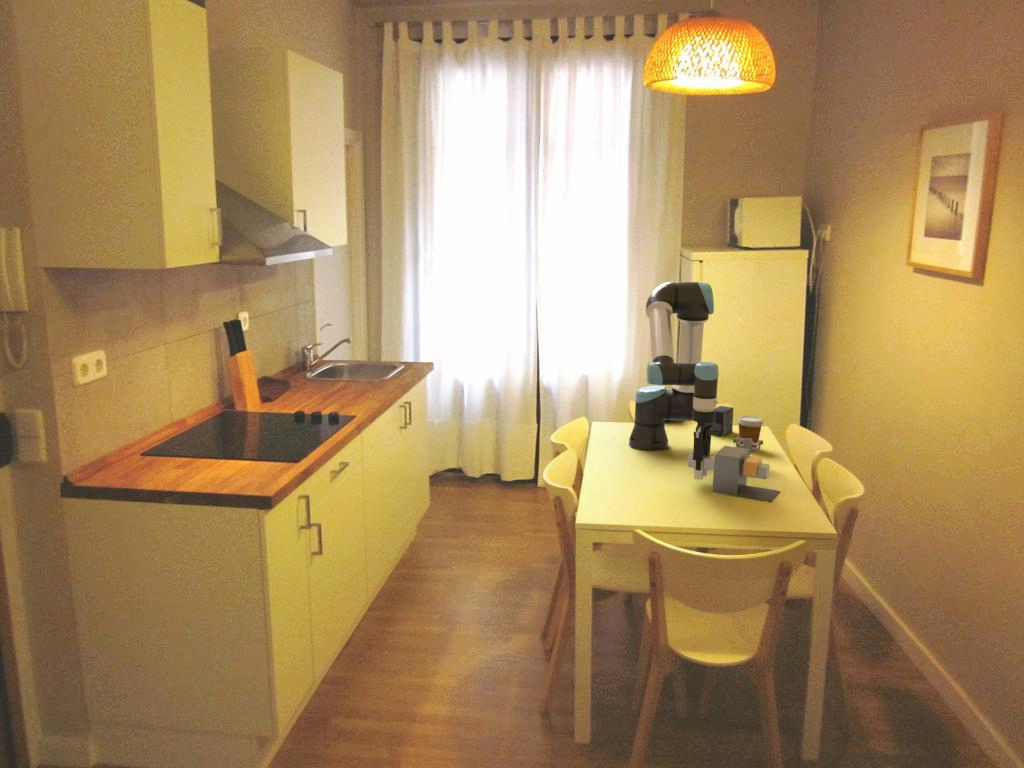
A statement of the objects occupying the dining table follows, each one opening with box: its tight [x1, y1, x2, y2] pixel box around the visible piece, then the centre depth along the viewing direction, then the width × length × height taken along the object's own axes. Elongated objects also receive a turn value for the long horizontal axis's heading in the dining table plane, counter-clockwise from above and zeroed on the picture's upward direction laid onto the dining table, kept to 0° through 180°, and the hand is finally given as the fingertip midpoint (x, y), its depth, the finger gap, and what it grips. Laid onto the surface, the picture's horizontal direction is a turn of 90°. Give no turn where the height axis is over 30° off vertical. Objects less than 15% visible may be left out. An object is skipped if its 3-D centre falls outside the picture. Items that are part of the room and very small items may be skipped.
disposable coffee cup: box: [737, 415, 764, 452], centre depth 328 cm, size 10×10×12 cm
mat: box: [737, 484, 781, 503], centre depth 276 cm, size 12×12×1 cm
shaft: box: [687, 452, 771, 480], centre depth 280 cm, size 26×4×4 cm, turn 61°
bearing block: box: [712, 445, 749, 498], centre depth 280 cm, size 8×12×13 cm, turn 151°
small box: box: [710, 405, 734, 437], centre depth 351 cm, size 11×6×10 cm, turn 144°
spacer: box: [743, 455, 763, 476], centre depth 276 cm, size 4×7×4 cm, turn 151°
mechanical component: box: [732, 436, 764, 457], centre depth 306 cm, size 3×10×10 cm, turn 78°
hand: (700, 476), depth 285 cm, fingers closed on shaft, 4 cm apart
